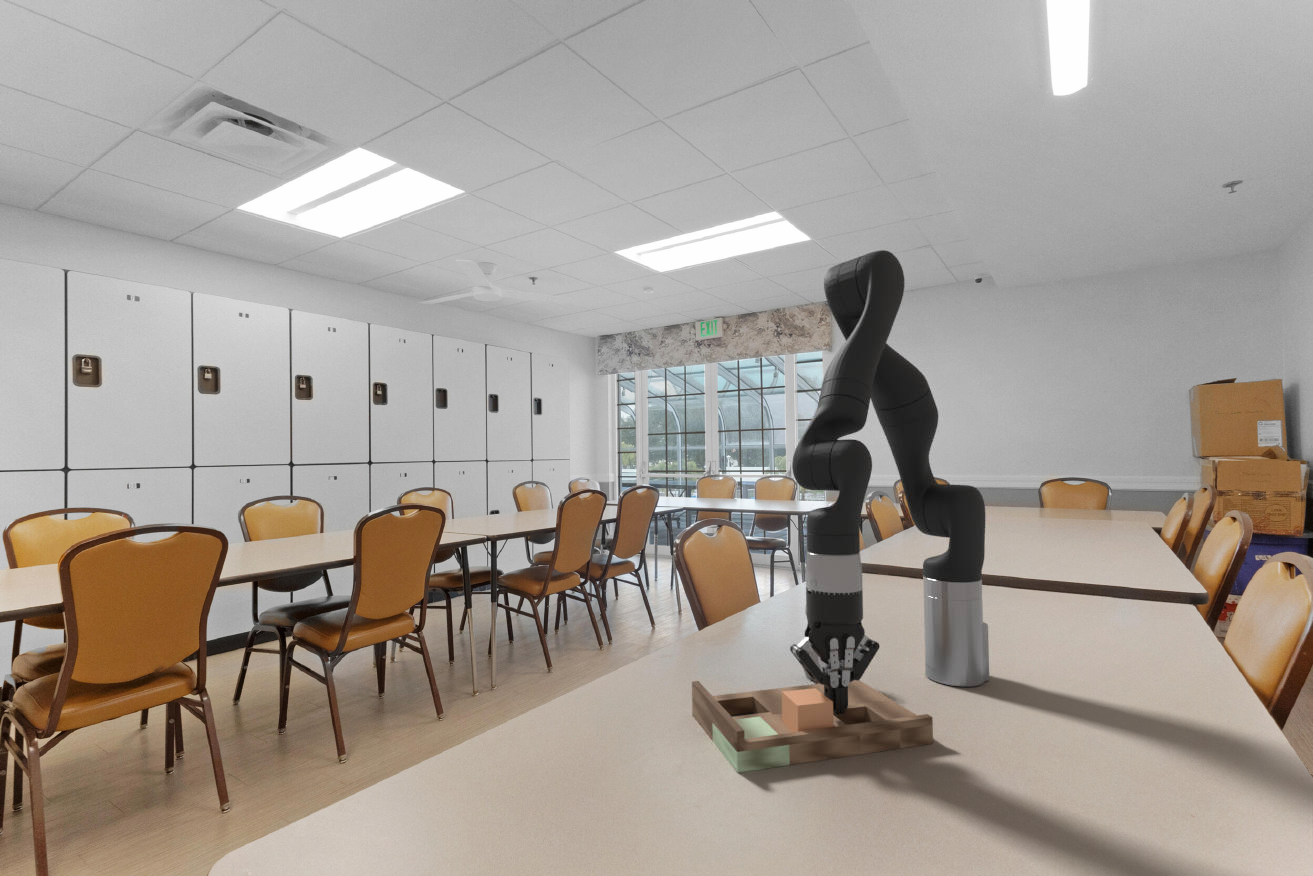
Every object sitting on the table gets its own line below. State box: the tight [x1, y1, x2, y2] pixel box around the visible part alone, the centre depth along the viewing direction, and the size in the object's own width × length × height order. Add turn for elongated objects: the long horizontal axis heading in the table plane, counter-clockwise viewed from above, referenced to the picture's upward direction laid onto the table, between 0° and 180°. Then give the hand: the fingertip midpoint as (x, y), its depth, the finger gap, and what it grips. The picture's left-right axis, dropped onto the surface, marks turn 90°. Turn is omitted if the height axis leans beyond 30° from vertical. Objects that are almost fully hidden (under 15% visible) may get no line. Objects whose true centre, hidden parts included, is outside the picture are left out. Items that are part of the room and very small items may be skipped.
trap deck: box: [691, 679, 934, 773], centre depth 90 cm, size 28×18×5 cm, turn 105°
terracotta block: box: [782, 688, 833, 732], centre depth 85 cm, size 5×5×4 cm
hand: (836, 712), depth 87 cm, fingers closed
